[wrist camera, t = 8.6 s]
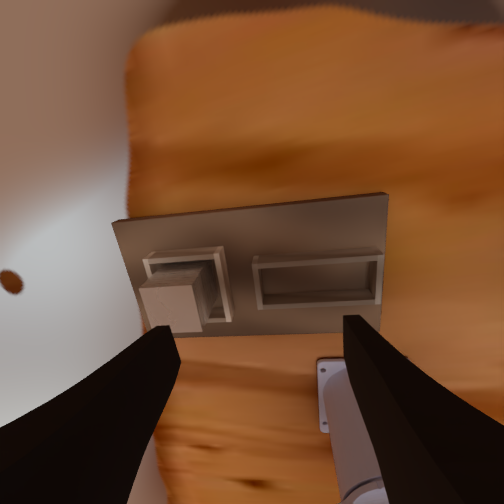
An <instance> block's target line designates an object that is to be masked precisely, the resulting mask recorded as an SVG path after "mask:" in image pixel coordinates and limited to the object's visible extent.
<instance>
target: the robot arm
mask: <svg viewBox="0 0 504 504" xmlns="http://www.w3.org/2000/svg"><path fill="white" fill-rule="evenodd" d="M343 347H344V359H320V360H318V361H317V378H318V401H319V424H320V431H321V432H323V433H329V434H330V440H331V445H332V451H333V457H334V463H335V469H336V475H337V481H338V486H339V492H340V498H341V502H340V503H338V504H504V425H502V424H500V423H499V422H497V421H495V420H494V419H492V418H491V417H489V416H487V415H486V414H484V413H482V412H481V411H479V410H478V409H476V408H474V407H473V406H471V405H470V404H468V403H467V402H465V401H464V400H462V399H461V398H459V397H458V396H456V395H455V394H453V393H452V392H451V391H449V390H448V389H446V388H445V387H443V386H442V385H441V384H439V383H438V382H436V381H435V380H434V379H432V378H431V377H429V376H428V375H427V374H426V373H424V372H423V371H422V370H421V369H419V368H418V367H417V366H416V365H414V364H413V363H412V362H411V361H410V359H408V358H406V357H405V356H403V355H402V354H401V353H400V352H399V351H398V350H397V349H396V348H394V347H393V346H392V345H391V344H390V343H389V342H388V341H387V340H386V339H384V338H383V337H382V336H381V335H380V334H379V333H378V332H377V331H376V330H375V329H374V328H373V327H372V326H371V325H370V324H369V323H368V322H367V321H366V320H365V319H364V318H363V317H362V316H361V315H359V314H358V315H343ZM180 364H181V360H180V357H179V353H178V350H177V347H176V344H175V341H174V337H173V334H172V331H171V328H170V325H162V326H156V327H154V328H152V329H151V330H150V331H148V332H147V333H145V334H144V335H143V336H141V337H140V338H139V339H137V340H136V341H135V342H134V343H132V344H131V345H130V346H128V347H127V348H126V349H124V350H123V351H122V352H120V353H119V354H118V355H116V356H115V357H114V358H112V359H111V360H110V361H108V362H107V363H106V364H104V365H103V366H101V367H100V368H98V369H97V370H96V371H94V372H93V373H91V374H90V375H89V376H87V377H86V378H84V379H83V380H81V381H80V382H78V383H77V384H75V385H74V386H72V387H71V388H69V389H67V390H66V391H64V392H63V393H61V394H59V395H58V396H56V397H55V398H53V399H51V400H50V401H48V402H46V403H45V404H43V405H41V406H39V407H37V408H35V409H34V410H32V411H30V412H28V413H27V414H25V415H23V416H21V417H19V418H18V419H16V420H14V421H12V422H10V423H8V424H6V425H4V426H2V427H0V504H127V501H128V498H129V494H130V492H131V489H132V486H133V483H134V480H135V477H136V474H137V472H138V469H139V466H140V463H141V460H142V457H143V455H144V452H145V450H146V447H147V445H148V443H149V440H150V438H151V436H152V434H153V432H154V429H155V427H156V425H157V423H158V420H159V418H160V416H161V414H162V412H163V409H164V407H165V405H166V403H167V400H168V398H169V396H170V394H171V391H172V389H173V387H174V384H175V381H176V378H177V375H178V371H179V368H180ZM322 368H325V369H322Z"/></svg>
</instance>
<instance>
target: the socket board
mask: <svg viewBox="0 0 504 504" xmlns="http://www.w3.org/2000/svg"><path fill="white" fill-rule="evenodd" d="M388 200H389V194H386V193H384V192H380V193H371V194H361V195H352V196H342V197H332V198H323V199H313V200H304V201H294V202H284V203H275V204H265V205H256V206H246V207H236V208H227V209H217V210H208V211H198V212H188V213H179V214H169V215H160V216H150V217H140V218H131V219H121V220H117V221H115V222H113V223H112V227H113V230H114V233H115V236H116V239H117V242H118V245H119V248H120V251H121V254H122V257H123V260H124V263H125V266H126V269H127V272H128V275H129V278H130V281H131V284H132V287H133V290H134V293H135V296H136V299H137V302H138V305H139V308H140V311H141V314H142V317H143V320H144V323H145V326H146V329H147V332H148V331H150V330H151V325H150V322H149V319H148V316H147V313H146V310H145V307H144V304H143V301H142V298H141V295H140V291H139V288H140V287H141V286H142V285H143V284H144V283H145V282H146V281H147V280H148V279H149V278H150V277H151V276H152V275H153V274H154V273H155V272H156V271H157V270H158V269H159V268H160V267H161V266H162V265H163V264H164V263H169V262H182V261H195V260H208V259H211V263H212V268H213V273H214V278H215V283H216V288H217V293H218V297H217V299H216V302H215V304H214V306H213V309H212V311H211V313H210V316H209V318H208V320H207V323H206V325H205V327H204V330H203V332H184V333H172V334H173V337H174V338H186V337H218V336H250V335H282V334H314V333H343V315H358V314H359V315H361V316H362V317H363V318H364V319H365V320H366V321H367V322H368V323H369V324H370V325H371V326H372V327H373V328H374V329H375V330H376V331H377V332H378V331H380V320H381V305H382V290H383V275H384V260H385V245H386V230H387V215H388Z"/></svg>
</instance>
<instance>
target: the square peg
mask: <svg viewBox="0 0 504 504" xmlns="http://www.w3.org/2000/svg"><path fill="white" fill-rule="evenodd" d="M139 291H140V295H141V298H142V301H143V304H144V307H145V310H146V313H147V316H148V319H149V322H150V325H151V329H152V328H154V327H156V326H162V325H170V328H171V331H172V333H184V332H203V330H204V327H205V325H206V323H207V320H208V318H209V316H210V313H211V311H212V309H213V306H214V304H215V302H216V299H217V297H218V293H217V288H216V283H215V278H214V273H213V268H212V263H211V259H208V260H195V261H182V262H169V263H164V264H163V265H162V266H161V267H160V268H159V269H158V270H157V271H156V272H155V273H154V274H153V275H152V276H151V277H150V278H149V279H148V280H147V281H146V282H145V283H144V284H143V285H142V286H141V287H140V288H139Z"/></svg>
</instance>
